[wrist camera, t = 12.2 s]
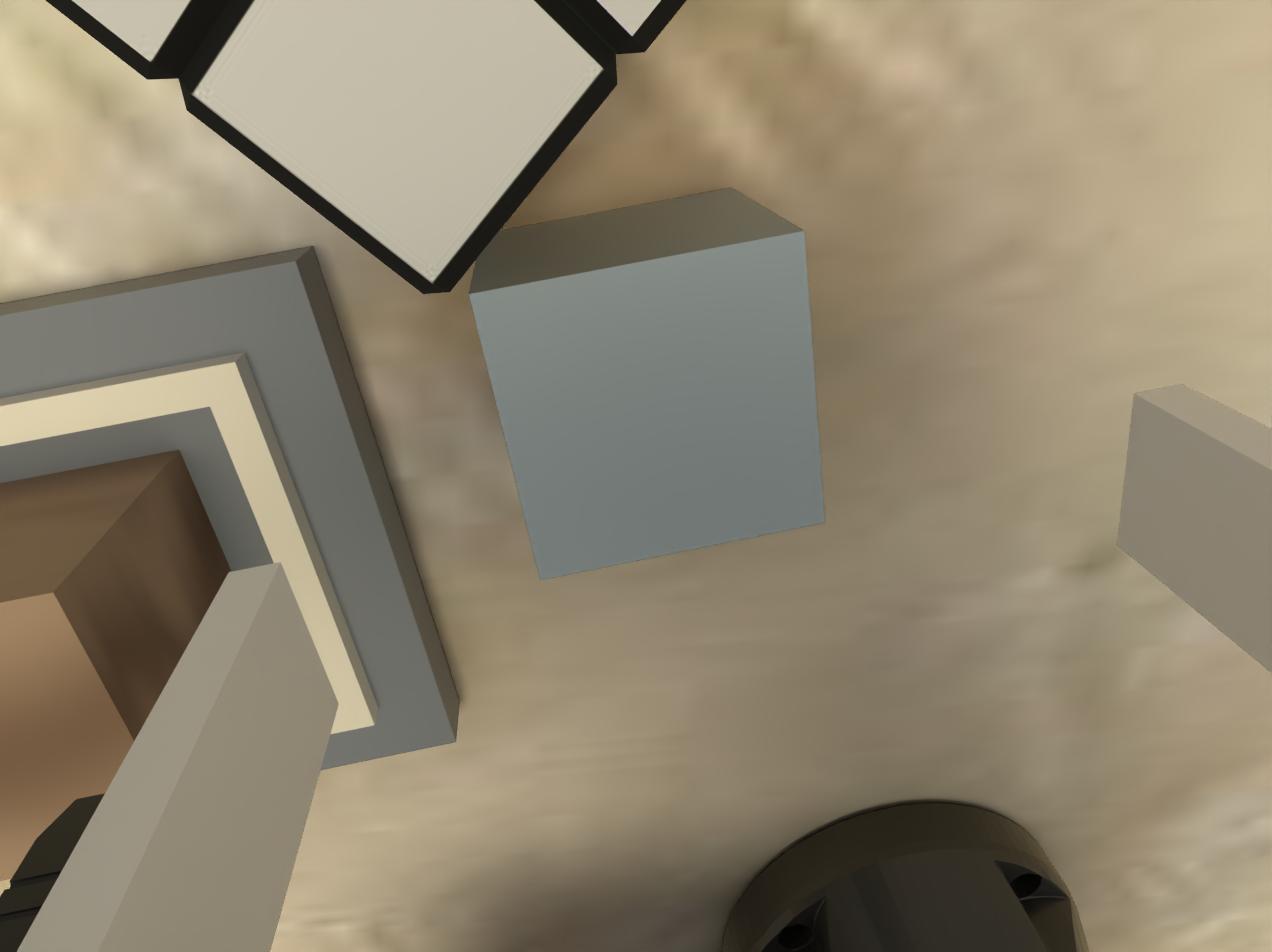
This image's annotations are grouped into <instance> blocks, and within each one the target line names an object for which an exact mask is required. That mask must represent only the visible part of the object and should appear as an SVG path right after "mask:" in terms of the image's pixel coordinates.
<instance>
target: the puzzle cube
mask: <svg viewBox="0 0 1272 952" xmlns="http://www.w3.org/2000/svg"><path fill="white" fill-rule="evenodd" d="M46 1H47V2H48V3H50V4H51V5H52V6H53V7H55V8H56V9H57V10H59V11H60V12H61V13H62V14H64V15H65V16H66V17H68V18H69V19H70V20H72V21H73V22H74V23H75V24H77V25H78V26H79V27H81V28H82V29H83V30H84V31H86V32H87V33H88V34H90V35H91V36H92V37H93V38H95V39H96V40H97V41H99V42H100V43H101V44H102V45H104V46H105V47H106V48H108V49H109V50H110V51H111V52H113V53H114V54H115V55H117V56H118V57H119V58H120V59H122V60H123V61H124V62H126V63H127V64H128V65H129V66H131V67H132V68H133V69H135V70H136V71H137V72H138V73H140V74H141V75H142V76H144V77H145V78H146V79H173V78H179V82H180V86H181V89H182V93H183V97H184V101H185V105H186V109H187V111H189V112H190V113H191V114H192V115H194V116H195V117H196V118H198V119H199V120H200V121H201V122H203V123H204V124H205V125H207V126H208V127H209V128H210V129H212V130H213V131H214V132H216V133H217V134H218V135H219V136H221V137H222V138H223V139H225V140H226V141H227V142H228V143H230V144H231V145H232V146H234V147H235V148H236V149H237V150H239V151H240V152H241V153H243V154H244V155H245V156H246V157H248V158H249V159H250V160H252V161H253V162H254V163H255V164H257V165H258V166H259V167H261V168H262V169H263V170H265V171H266V172H267V173H268V174H270V175H271V176H272V177H274V178H275V179H276V180H277V181H279V182H280V183H281V184H283V185H284V186H285V187H286V188H288V189H289V190H290V191H292V192H293V193H294V194H295V195H297V196H298V197H299V198H301V199H302V200H303V201H304V202H306V203H307V204H308V205H310V206H311V207H312V208H313V209H315V210H316V211H317V212H319V213H320V214H321V215H322V216H324V217H325V218H326V219H328V220H329V221H330V222H331V223H333V224H334V225H335V226H337V227H338V228H339V229H340V230H342V231H343V232H344V233H346V234H347V235H348V236H349V237H351V238H352V239H353V240H355V241H356V242H357V243H358V244H360V245H361V246H362V247H364V248H365V249H366V250H367V251H369V252H370V253H371V254H373V255H374V256H375V257H376V258H378V259H379V260H380V261H382V262H383V263H384V264H385V265H387V266H388V267H389V268H391V269H392V270H393V271H394V272H396V273H397V274H398V275H400V276H401V277H402V278H403V279H405V280H406V281H407V282H409V283H410V284H411V285H412V286H414V287H415V288H416V289H418V290H419V291H420V292H421V293H423V294H429V293H441V292H450V291H451V290H452V289H453V287H454V286H455V285H456V284H457V282H458V281H459V280H460V279H461V277H462V276H463V275H464V274H465V272H466V271H467V270H468V269H469V267H470V266H471V265H472V264H473V262H474V261H475V260H476V259H477V258H478V256H479V255H480V254H481V253H482V251H483V250H484V249H485V248H486V246H487V245H488V244H489V243H490V241H491V240H492V239H493V238H494V236H495V235H496V234H497V233H498V231H499V230H500V229H501V228H502V227H503V225H504V224H505V223H506V222H507V220H508V219H509V218H510V217H511V215H512V214H513V213H514V212H515V210H516V209H517V208H518V207H519V205H520V204H521V203H522V202H523V200H524V199H525V198H526V197H527V196H528V194H529V193H530V192H531V191H532V189H533V188H534V187H535V186H536V184H537V183H538V182H539V181H540V179H541V178H542V177H543V176H544V174H545V173H546V172H547V171H548V170H549V168H550V167H551V166H552V165H553V163H554V162H555V161H556V160H557V158H558V157H559V156H560V155H561V153H562V152H563V151H564V150H565V148H566V147H567V146H568V145H569V143H570V142H571V141H572V140H573V139H574V137H575V136H576V135H577V134H578V132H579V131H580V130H581V129H582V127H583V126H584V125H585V124H586V122H587V121H588V120H589V119H590V117H591V116H592V115H593V114H594V112H595V111H596V110H597V109H598V108H599V106H600V105H601V104H602V103H603V101H604V100H605V99H606V98H607V96H608V95H609V94H610V93H611V91H612V90H613V89H614V88H615V86H616V85H617V71H616V54H626V53H640V52H645V51H646V50H647V49H648V47H649V46H650V45H651V44H652V42H653V41H654V40H655V39H656V37H657V36H658V35H659V34H660V33H661V31H662V30H663V29H664V28H665V26H666V25H667V24H668V23H669V21H670V20H671V19H672V18H673V16H674V15H675V14H676V13H677V11H678V10H679V9H680V8H681V6H682V5H683V4H684V3H685V2H686V0H46Z"/></svg>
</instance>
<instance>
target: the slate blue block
mask: <svg viewBox="0 0 1272 952" xmlns="http://www.w3.org/2000/svg"><path fill="white" fill-rule="evenodd" d="M469 297H470V301H471V305H472V309H473V313H474V317H475V321H476V325H477V329H478V333H479V337H480V341H481V345H482V349H483V353H484V357H485V361H486V365H487V369H488V373H489V377H490V381H491V386H492V390H493V394H494V398H495V402H496V406H497V410H498V414H499V418H500V422H501V426H502V430H503V434H504V438H505V442H506V446H507V450H508V454H509V458H510V462H511V466H512V470H513V474H514V478H515V482H516V486H517V490H518V494H519V498H520V502H521V506H522V510H523V514H524V518H525V522H526V526H527V530H528V534H529V538H530V542H531V546H532V550H533V554H534V558H535V562H536V566H537V570H538V574H539V578H540V580H545V579H550V578H555V577H559V576H564V575H569V574H574V573H579V572H584V571H589V570H594V569H599V568H604V567H609V566H614V565H619V564H624V563H629V562H634V561H639V560H644V559H649V558H653V557H658V556H663V555H668V554H673V553H678V552H683V551H688V550H693V549H698V548H703V547H708V546H713V545H718V544H723V543H728V542H733V541H738V540H743V539H747V538H752V537H757V536H762V535H767V534H772V533H777V532H782V531H787V530H792V529H797V528H802V527H807V526H812V525H817V524H822V523H825V515H824V501H823V487H822V472H821V458H820V444H819V430H818V416H817V402H816V388H815V374H814V360H813V345H812V331H811V317H810V303H809V289H808V275H807V261H806V247H805V233H804V230H802V229H800V228H799V227H797V226H795V225H793V224H792V223H790V222H788V221H787V220H785V219H783V218H782V217H780V216H778V215H777V214H775V213H773V212H771V211H770V210H768V209H766V208H765V207H763V206H761V205H760V204H758V203H756V202H755V201H753V200H751V199H749V198H748V197H746V196H744V195H743V194H741V193H739V192H738V191H736V190H734V189H732V188H726V189H721V190H715V191H710V192H705V193H699V194H694V195H689V196H683V197H678V198H672V199H667V200H662V201H656V202H651V203H646V204H640V205H635V206H629V207H624V208H619V209H613V210H608V211H603V212H597V213H592V214H586V215H581V216H576V217H570V218H565V219H560V220H554V221H549V222H543V223H538V224H533V225H527V226H522V227H517V228H511V229H506V230H500V231H498V233H497V234H496V235H495V236H494V238H493V239H492V240H491V241H490V243H489V244H488V245H487V246H486V248H485V249H484V250H483V251H482V253H481V254H480V255H479V256H478V258H477V259H476V264H475V268H474V273H473V277H472V282H471V286H470V291H469Z"/></svg>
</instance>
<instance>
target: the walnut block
mask: <svg viewBox="0 0 1272 952" xmlns="http://www.w3.org/2000/svg"><path fill="white" fill-rule="evenodd" d="M229 572H232V571H231V569H230V566H229V564H228V562H227V559H226V557H225V555H224V552H223V550H222V548H221V545H220V543H219V541H218V538H217V536H216V534H215V531H214V529H213V527H212V524H211V522H210V520H209V517H208V515H207V513H206V510H205V508H204V506H203V503H202V501H201V499H200V496H199V494H198V492H197V490H196V487H195V485H194V483H193V480H192V478H191V476H190V473H189V471H188V469H187V466H186V464H185V462H184V459H183V457H182V455H181V452H180V450H175V451H169V452H164V453H159V454H153V455H148V456H143V457H138V458H132V459H127V460H122V461H116V462H111V463H106V464H100V465H95V466H90V467H84V468H79V469H74V470H68V471H63V472H58V473H52V474H47V475H42V476H36V477H31V478H26V479H20V480H15V481H10V482H4V483H0V881H2V880H7V879H11V878H12V877H13V875H14V874H15V872H16V871H17V869H18V867H19V866H20V864H21V862H22V861H23V859H24V858H25V856H26V854H27V853H28V851H29V849H30V848H31V846H32V845H33V843H34V841H35V840H36V838H37V837H38V836H39V835H40V834H41V833H42V832H43V831H44V830H45V829H46V828H47V827H48V826H49V825H51V824H52V823H53V822H54V821H55V820H56V819H57V818H58V817H59V816H60V815H61V814H62V813H63V812H64V811H65V810H66V809H67V808H68V807H69V806H70V805H71V804H72V803H73V802H74V801H75V800H76V799H79V798H84V797H89V796H94V795H99V794H104V793H106V791H107V789H108V787H109V786H110V784H111V782H112V780H113V779H114V777H115V775H116V773H117V771H118V770H119V768H120V766H121V764H122V762H123V761H124V759H125V757H126V755H127V753H128V752H129V750H130V748H131V746H132V745H133V743H134V741H135V739H136V737H137V736H138V734H139V732H140V730H141V728H142V727H143V725H144V723H145V721H146V719H147V718H148V716H149V714H150V712H151V711H152V709H153V707H154V705H155V703H156V702H157V700H158V698H159V696H160V694H161V693H162V691H163V689H164V687H165V686H166V684H167V682H168V680H169V678H170V677H171V675H172V673H173V671H174V669H175V668H176V666H177V664H178V662H179V660H180V659H181V657H182V655H183V653H184V652H185V650H186V648H187V646H188V644H189V643H190V641H191V639H192V637H193V635H194V634H195V632H196V630H197V628H198V627H199V625H200V623H201V621H202V619H203V618H204V616H205V614H206V612H207V610H208V609H209V607H210V605H211V603H212V601H213V600H214V598H215V596H216V594H217V593H218V591H219V589H220V587H221V585H222V584H223V582H224V580H225V578H226V576H227V575H228V573H229Z"/></svg>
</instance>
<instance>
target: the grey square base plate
mask: <svg viewBox="0 0 1272 952" xmlns="http://www.w3.org/2000/svg"><path fill="white" fill-rule="evenodd" d="M175 450H180V452H181V455H182V457H183V459H184V462H185V464H186V466H187V469H188V471H189V473H190V476H191V478H192V480H193V483H194V485H195V487H196V490H197V492H198V494H199V496H200V499H201V501H202V503H203V506H204V508H205V510H206V513H207V515H208V517H209V520H210V522H211V524H212V527H213V529H214V531H215V534H216V536H217V538H218V541H219V543H220V545H221V548H222V550H223V552H224V555H225V557H226V559H227V562H228V564H229V566H230V569H231V571H237V570H243V569H248V568H253V567H258V566H263V565H268V564H273V563H278V562H281V564H282V566H283V569H284V571H285V574H286V576H287V579H288V581H289V584H290V586H291V588H292V591H293V593H294V596H295V598H296V601H297V603H298V605H299V608H300V610H301V613H302V615H303V618H304V620H305V623H306V625H307V627H308V630H309V632H310V635H311V637H312V640H313V642H314V644H315V647H316V649H317V652H318V654H319V657H320V659H321V662H322V664H323V666H324V669H325V671H326V674H327V676H328V679H329V681H330V683H331V686H332V688H333V691H334V693H335V696H336V698H337V701H338V703H339V705H338V709H337V712H336V716H335V719H334V723H333V727H332V730H331V734H330V737H329V741H328V745H327V748H326V752H325V755H324V759H323V763H322V766H321V770H324V769H329V768H334V767H338V766H343V765H348V764H353V763H358V762H362V761H367V760H372V759H377V758H382V757H386V756H391V755H396V754H401V753H406V752H410V751H415V750H420V749H425V748H430V747H434V746H439V745H444V744H449V743H454V742H456V736H457V725H458V715H459V704H460V701H459V698H458V695H457V692H456V689H455V686H454V683H453V680H452V677H451V673H450V670H449V667H448V664H447V661H446V658H445V655H444V652H443V649H442V645H441V642H440V639H439V636H438V633H437V630H436V627H435V624H434V621H433V618H432V614H431V611H430V608H429V605H428V602H427V599H426V596H425V593H424V590H423V586H422V583H421V580H420V577H419V574H418V571H417V568H416V565H415V562H414V558H413V555H412V552H411V549H410V546H409V543H408V540H407V537H406V534H405V531H404V527H403V524H402V521H401V518H400V515H399V512H398V509H397V506H396V503H395V499H394V496H393V493H392V490H391V487H390V484H389V481H388V478H387V475H386V472H385V468H384V465H383V462H382V459H381V456H380V453H379V450H378V447H377V444H376V440H375V437H374V434H373V431H372V428H371V425H370V422H369V419H368V416H367V412H366V409H365V406H364V403H363V400H362V397H361V394H360V391H359V388H358V385H357V381H356V378H355V375H354V372H353V369H352V366H351V363H350V360H349V357H348V353H347V350H346V347H345V344H344V341H343V338H342V335H341V332H340V329H339V326H338V322H337V319H336V316H335V313H334V310H333V307H332V304H331V301H330V298H329V294H328V291H327V288H326V285H325V282H324V279H323V276H322V273H321V270H320V267H319V263H318V260H317V257H316V254H315V251H314V248H313V246H310V247H305V248H299V249H294V250H289V251H283V252H278V253H272V254H267V255H261V256H256V257H251V258H245V259H240V260H234V261H229V262H224V263H218V264H213V265H207V266H202V267H196V268H191V269H186V270H180V271H175V272H169V273H164V274H159V275H153V276H148V277H142V278H137V279H131V280H126V281H121V282H115V283H110V284H104V285H99V286H93V287H88V288H83V289H77V290H72V291H66V292H61V293H56V294H50V295H45V296H39V297H34V298H28V299H23V300H18V301H12V302H7V303H1V304H0V483H4V482H10V481H15V480H20V479H26V478H31V477H36V476H42V475H47V474H52V473H58V472H63V471H68V470H74V469H79V468H84V467H90V466H95V465H100V464H106V463H111V462H116V461H122V460H127V459H132V458H138V457H143V456H148V455H153V454H159V453H164V452H169V451H175Z"/></svg>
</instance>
